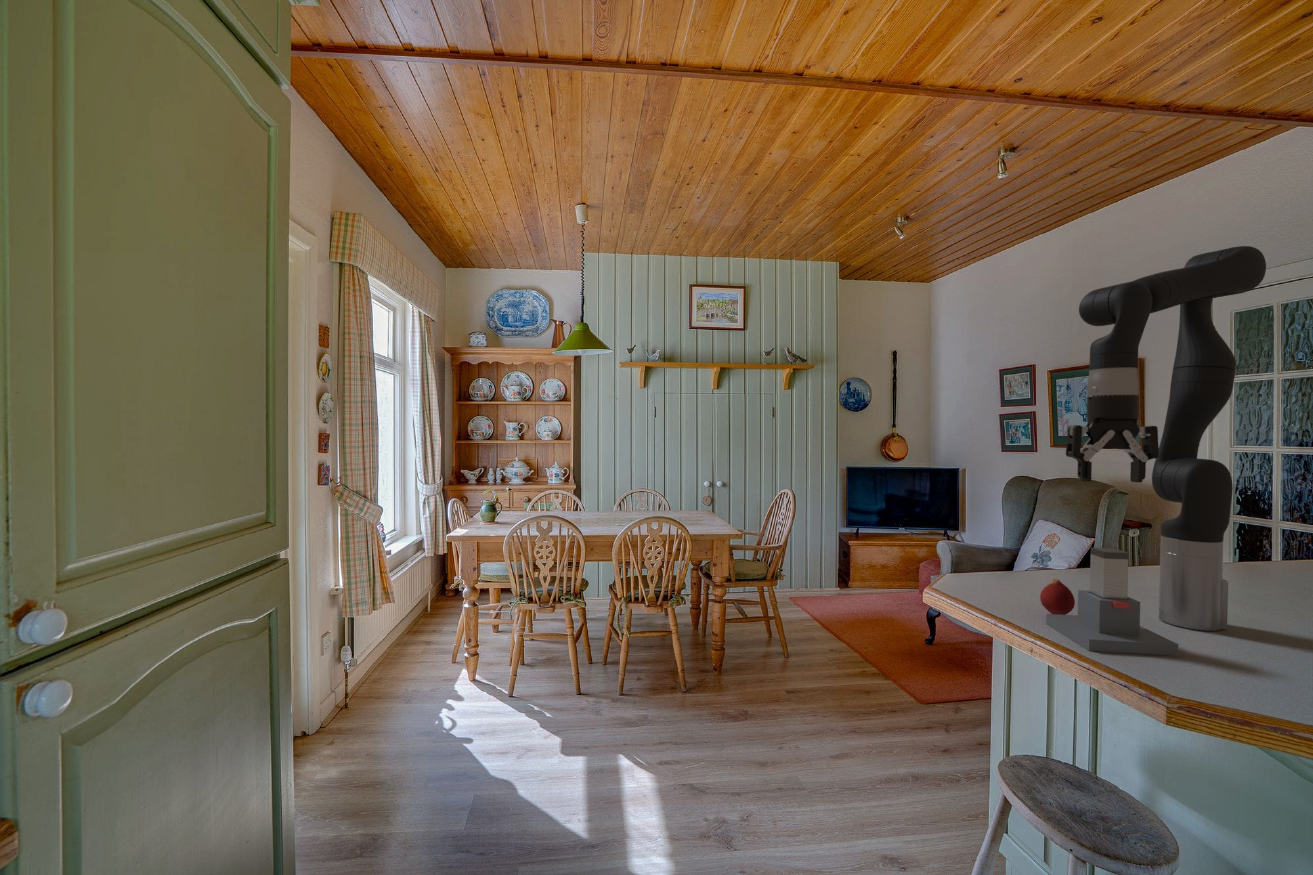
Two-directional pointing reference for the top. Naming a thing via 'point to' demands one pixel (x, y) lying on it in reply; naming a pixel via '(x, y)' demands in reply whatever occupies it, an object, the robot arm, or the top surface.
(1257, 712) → the top surface
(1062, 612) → the onion
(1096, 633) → the stand
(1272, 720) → the top surface
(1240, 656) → the top surface
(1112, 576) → the column
